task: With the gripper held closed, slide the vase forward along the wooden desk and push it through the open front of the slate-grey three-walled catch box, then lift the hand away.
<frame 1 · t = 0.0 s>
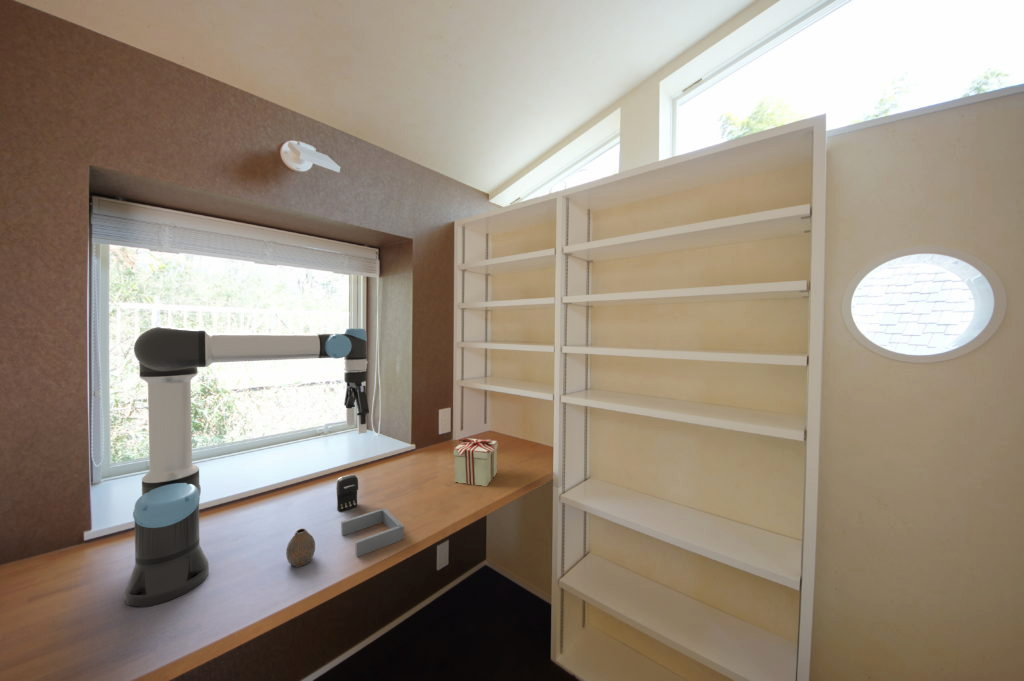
hand: (356, 429, 132), 28 cm above the table, tool pointing down, fingers open, 13 cm apart
vase: (301, 562, 100), on the table
battery charger: (347, 508, 130), on the table
catch box: (371, 536, 112), on the table
gift box: (476, 480, 156), on the table
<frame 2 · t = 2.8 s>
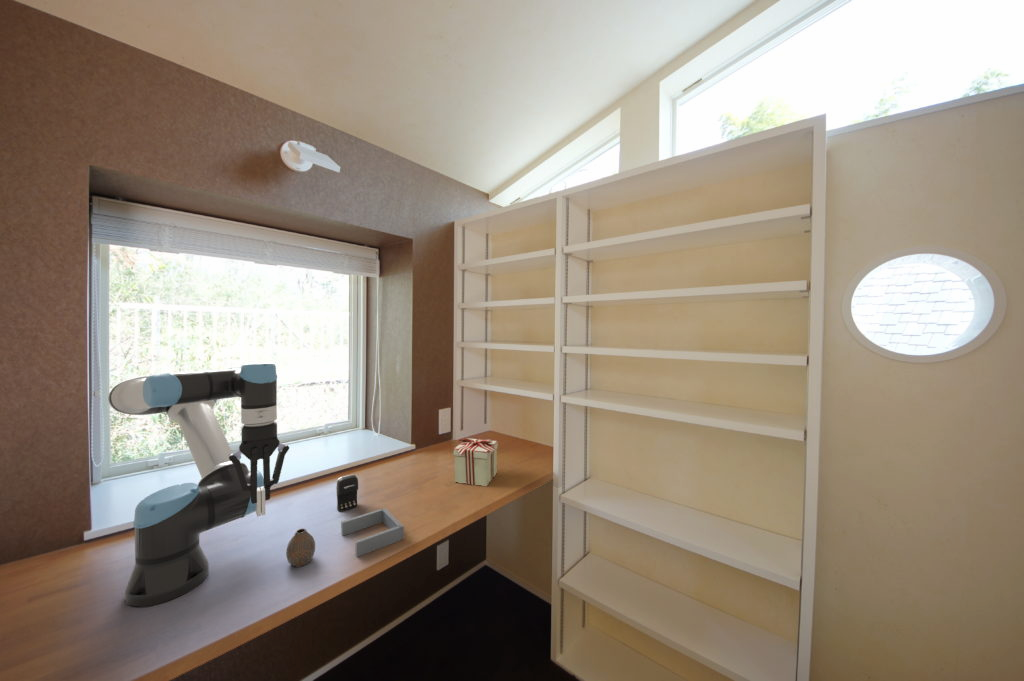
hand: (260, 513, 93), 16 cm above the table, tool pointing down, fingers closed
nothing on the table moved.
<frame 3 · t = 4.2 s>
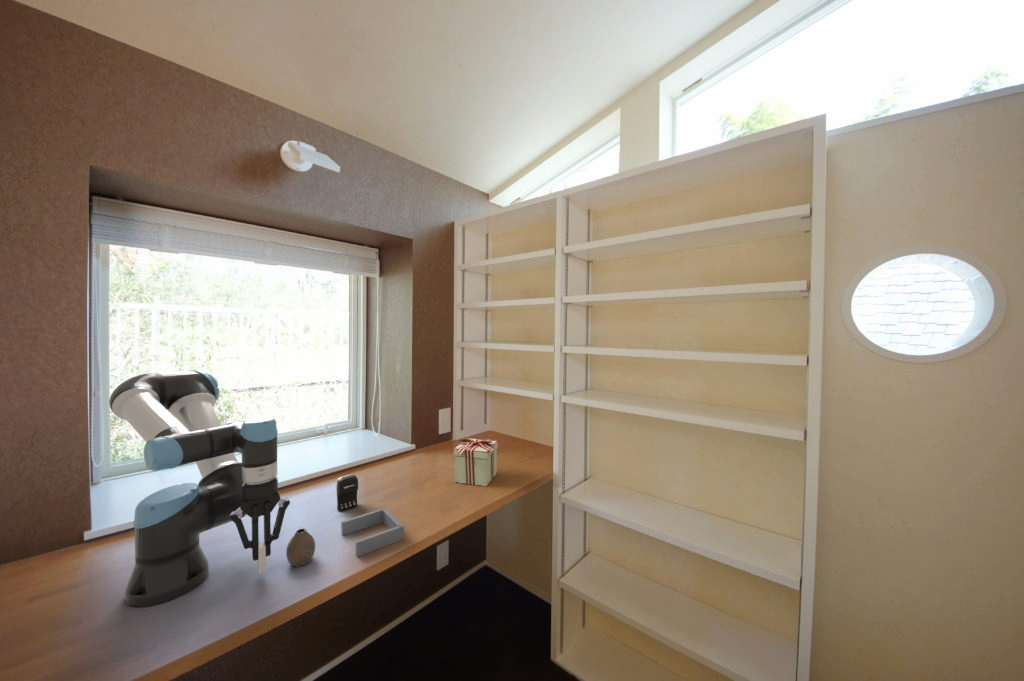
hand: (261, 569, 94), 2 cm above the table, tool pointing down, fingers closed
nothing on the table moved.
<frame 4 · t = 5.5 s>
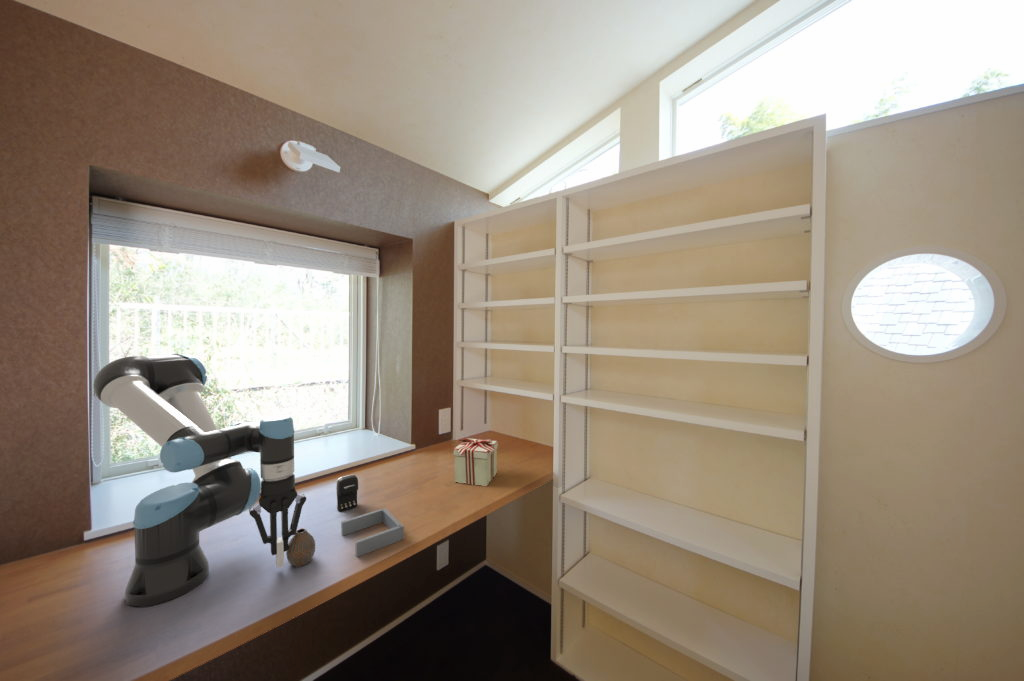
hand: (280, 564, 96), 2 cm above the table, tool pointing down, fingers closed
vase: (301, 562, 100), on the table, touching gripper
everything else where it was.
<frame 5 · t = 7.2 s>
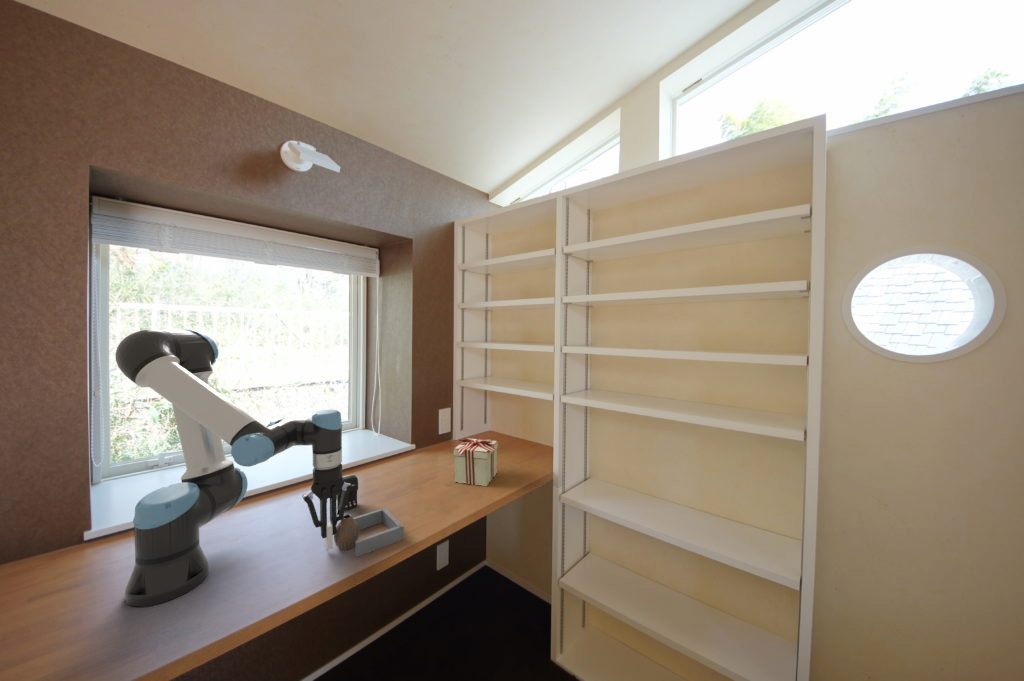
hand: (328, 546, 104), 2 cm above the table, tool pointing down, fingers closed
vase: (347, 546, 107), on the table, touching gripper
everything else where it was.
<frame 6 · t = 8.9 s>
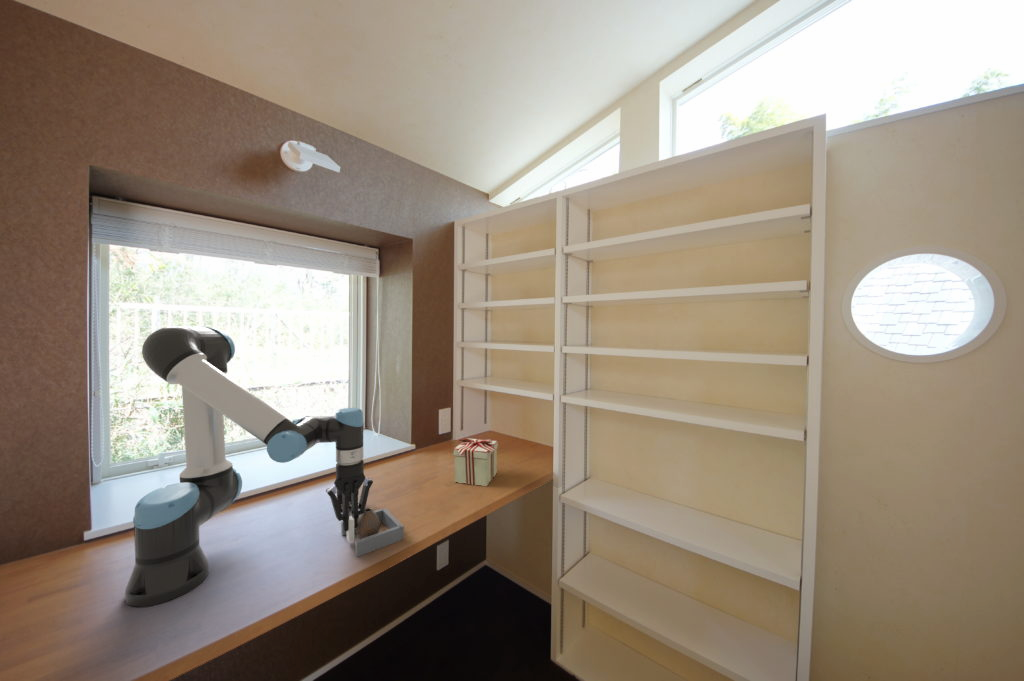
hand: (350, 539, 108), 1 cm above the table, tool pointing down, fingers closed
vase: (368, 538, 111), on the table, touching gripper
everything else where it was.
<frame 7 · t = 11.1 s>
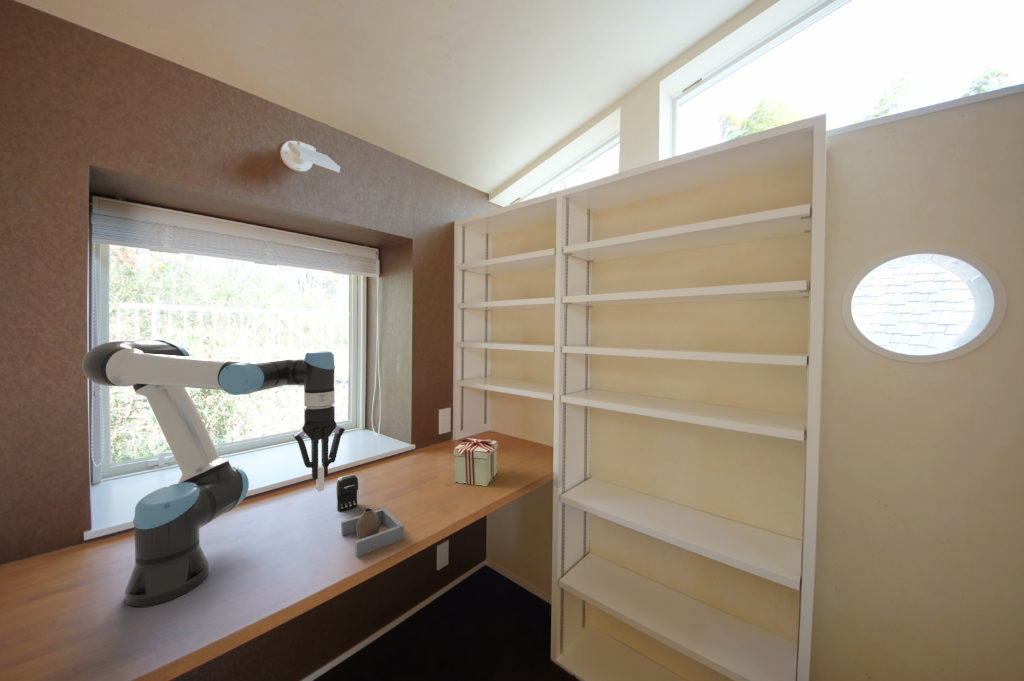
hand: (320, 489, 102), 19 cm above the table, tool pointing down, fingers closed
vase: (368, 538, 111), on the table
everything else where it was.
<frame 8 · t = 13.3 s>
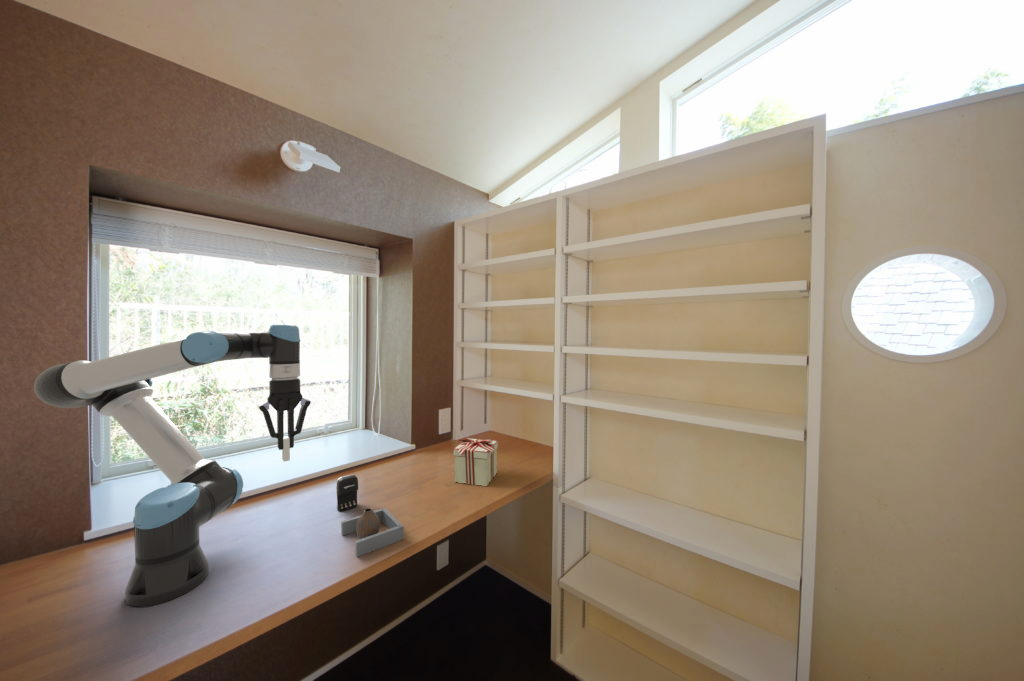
hand: (286, 459, 105), 26 cm above the table, tool pointing down, fingers closed
nothing on the table moved.
at the end: vase inside the target area (0.9 cm from its centre), on the table; vase tilted 0° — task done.
